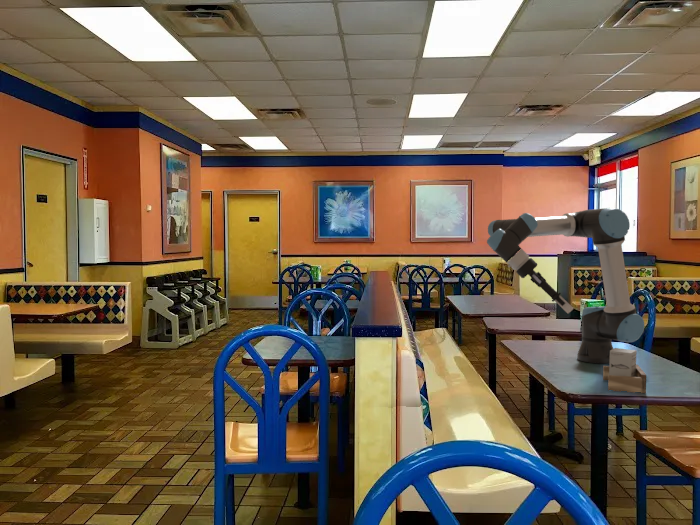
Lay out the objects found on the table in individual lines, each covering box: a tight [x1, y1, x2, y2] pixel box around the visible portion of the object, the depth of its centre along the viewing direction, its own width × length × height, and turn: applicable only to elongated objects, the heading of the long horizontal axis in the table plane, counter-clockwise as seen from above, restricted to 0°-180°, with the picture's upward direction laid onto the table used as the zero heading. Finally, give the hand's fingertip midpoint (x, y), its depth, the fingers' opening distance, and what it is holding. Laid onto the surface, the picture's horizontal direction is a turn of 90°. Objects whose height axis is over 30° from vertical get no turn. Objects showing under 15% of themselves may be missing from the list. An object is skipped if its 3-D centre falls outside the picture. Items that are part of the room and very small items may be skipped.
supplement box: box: [608, 347, 638, 377], centre depth 204 cm, size 7×7×13 cm
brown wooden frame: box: [602, 363, 647, 394], centre depth 203 cm, size 17×12×6 cm
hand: (570, 310), depth 208 cm, fingers closed
